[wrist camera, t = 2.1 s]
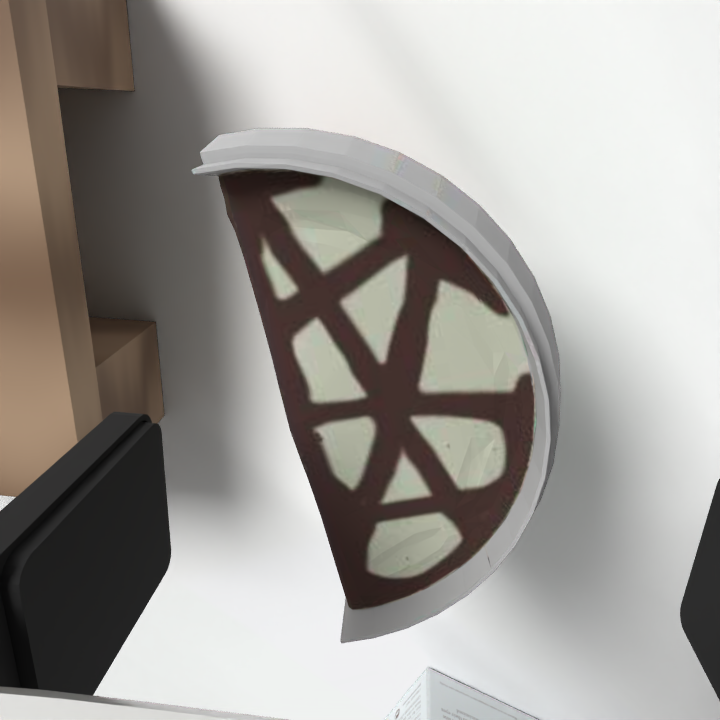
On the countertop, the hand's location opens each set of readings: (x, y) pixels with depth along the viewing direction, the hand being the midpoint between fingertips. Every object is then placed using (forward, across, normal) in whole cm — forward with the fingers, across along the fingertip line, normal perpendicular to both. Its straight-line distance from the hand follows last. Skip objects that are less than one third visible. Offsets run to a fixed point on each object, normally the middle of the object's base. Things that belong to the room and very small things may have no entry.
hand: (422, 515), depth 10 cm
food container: (+12, 0, -1) cm, 13 cm away
